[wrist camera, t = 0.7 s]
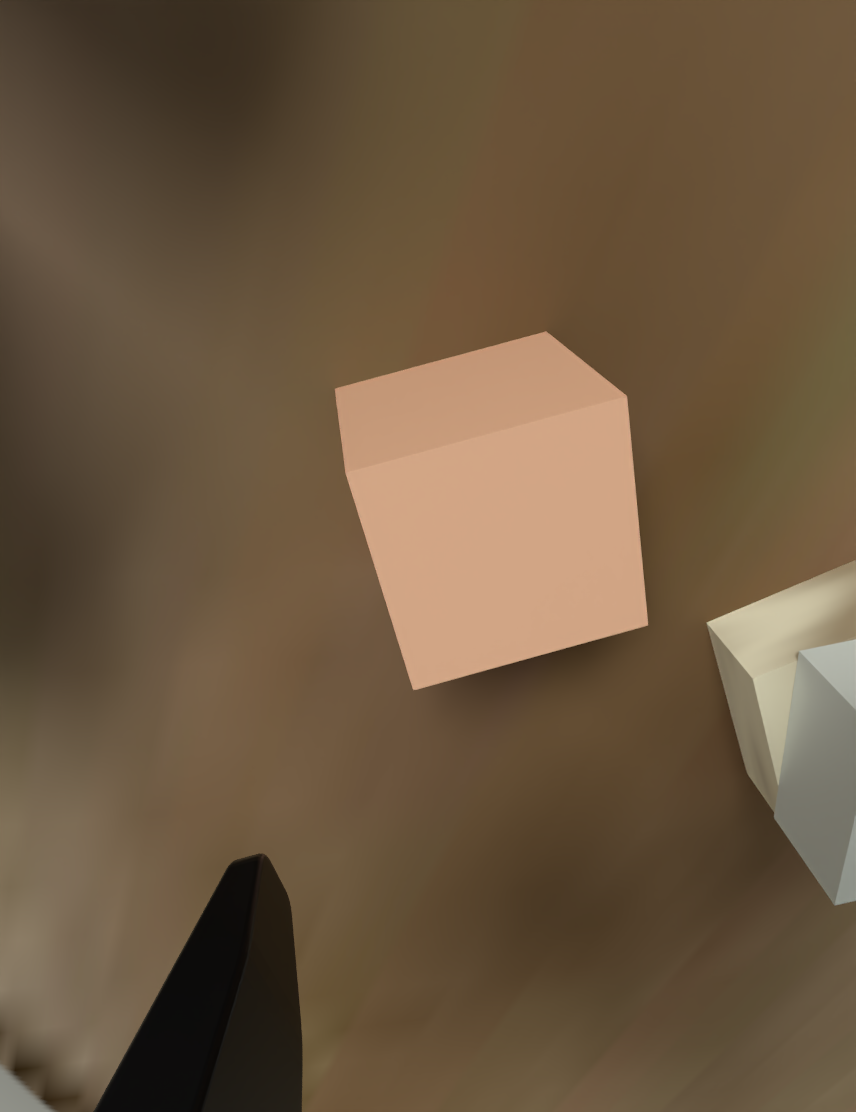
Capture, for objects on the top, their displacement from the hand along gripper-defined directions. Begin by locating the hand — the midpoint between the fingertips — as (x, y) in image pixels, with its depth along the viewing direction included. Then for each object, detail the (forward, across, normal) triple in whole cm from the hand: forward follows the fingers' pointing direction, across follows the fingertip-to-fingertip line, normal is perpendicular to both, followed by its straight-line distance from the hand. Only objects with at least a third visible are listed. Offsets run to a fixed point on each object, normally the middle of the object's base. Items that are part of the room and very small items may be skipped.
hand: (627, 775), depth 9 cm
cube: (+11, 0, 0) cm, 11 cm away
